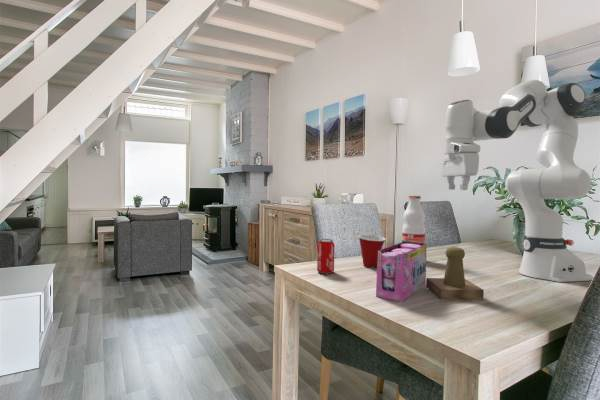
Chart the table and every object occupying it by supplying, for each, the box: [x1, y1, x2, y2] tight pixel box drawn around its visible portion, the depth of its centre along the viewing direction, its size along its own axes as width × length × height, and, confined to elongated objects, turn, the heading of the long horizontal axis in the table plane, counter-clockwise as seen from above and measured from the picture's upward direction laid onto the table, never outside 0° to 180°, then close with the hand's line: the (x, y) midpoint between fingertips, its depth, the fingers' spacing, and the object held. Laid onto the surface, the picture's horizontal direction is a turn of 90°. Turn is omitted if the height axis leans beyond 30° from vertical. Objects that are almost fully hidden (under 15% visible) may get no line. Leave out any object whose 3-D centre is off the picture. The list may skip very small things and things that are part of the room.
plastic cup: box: [357, 234, 387, 269], centre depth 138 cm, size 11×11×12 cm
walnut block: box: [425, 277, 484, 301], centre depth 104 cm, size 12×12×3 cm
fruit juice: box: [401, 195, 426, 244], centre depth 149 cm, size 9×9×28 cm
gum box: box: [375, 241, 428, 303], centre depth 107 cm, size 24×8×14 cm, turn 143°
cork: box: [443, 246, 466, 287], centre depth 103 cm, size 6×6×11 cm
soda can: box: [316, 238, 335, 275], centre depth 127 cm, size 6×6×12 cm
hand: (457, 189), depth 118 cm, fingers open, 8 cm apart
